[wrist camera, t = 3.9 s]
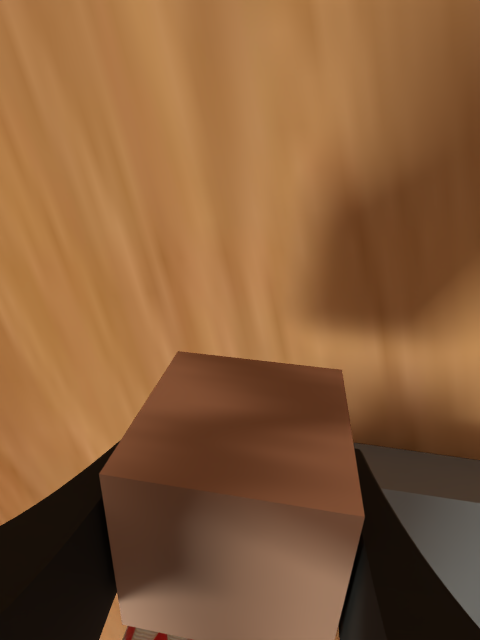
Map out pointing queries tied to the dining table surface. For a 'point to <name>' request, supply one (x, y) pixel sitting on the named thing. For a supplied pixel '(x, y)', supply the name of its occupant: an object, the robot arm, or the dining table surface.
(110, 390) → the dining table surface
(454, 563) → the charcoal slab
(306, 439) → the terracotta cube
